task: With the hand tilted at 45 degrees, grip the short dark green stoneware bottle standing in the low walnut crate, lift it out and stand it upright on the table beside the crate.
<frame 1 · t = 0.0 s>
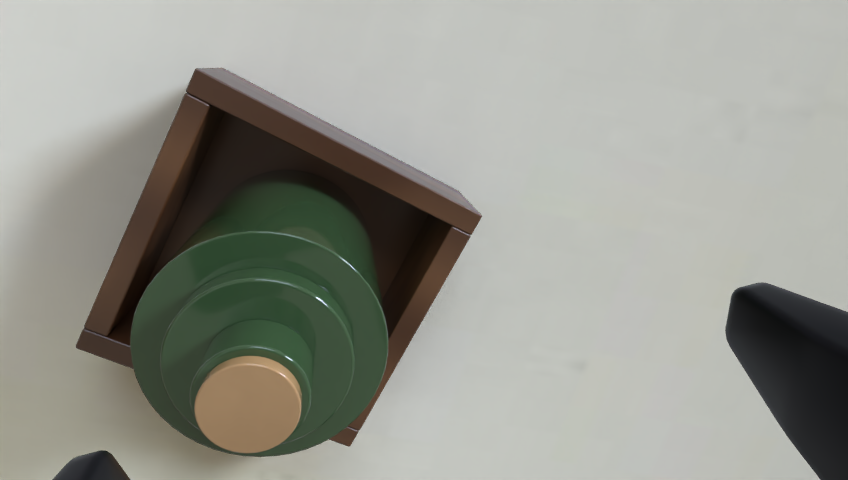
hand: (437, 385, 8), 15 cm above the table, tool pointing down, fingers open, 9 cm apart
bottle: (290, 249, 22), resting on crate
crate: (291, 245, 23), on the table
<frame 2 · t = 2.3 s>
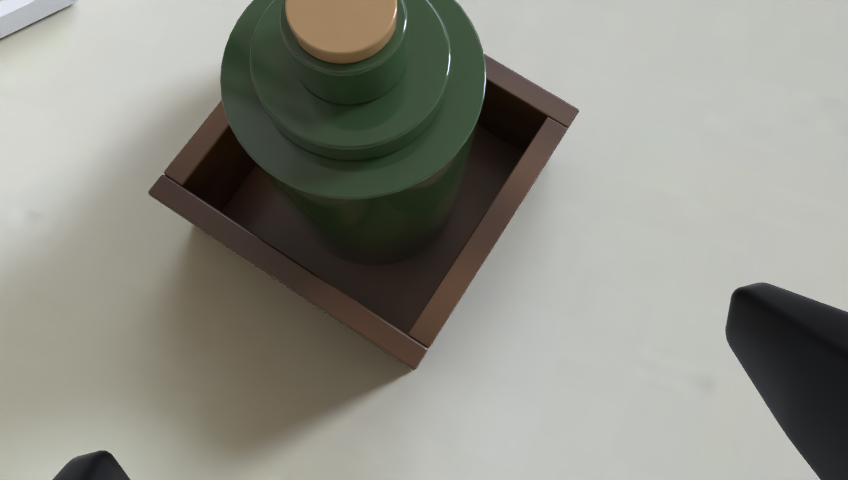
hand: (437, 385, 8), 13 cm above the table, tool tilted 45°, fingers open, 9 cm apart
bottle: (375, 184, 22), resting on crate
crate: (376, 188, 22), on the table
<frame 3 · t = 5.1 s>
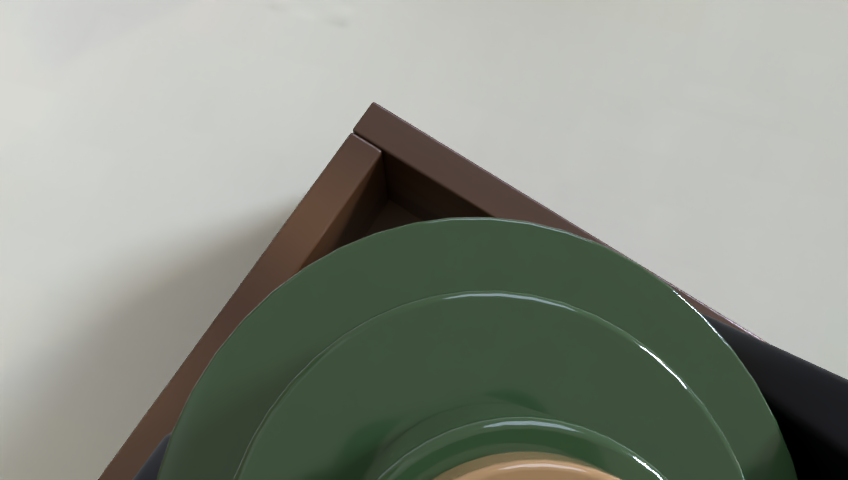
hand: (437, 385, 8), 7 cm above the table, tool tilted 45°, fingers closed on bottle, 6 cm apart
bottle: (438, 436, 14), point 1 cm above the table, touching crate, gripper
crate: (438, 433, 14), on the table
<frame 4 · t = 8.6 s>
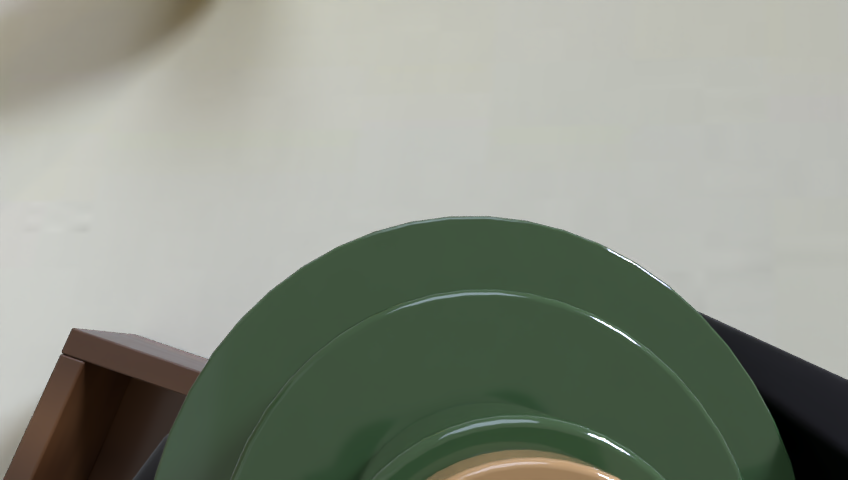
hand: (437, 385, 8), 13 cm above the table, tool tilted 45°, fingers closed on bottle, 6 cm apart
bottle: (437, 435, 14), point 7 cm above the table, touching gripper
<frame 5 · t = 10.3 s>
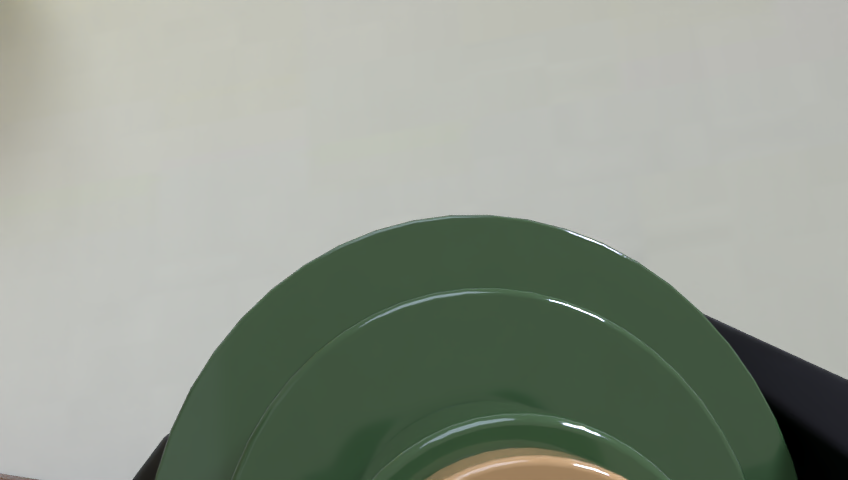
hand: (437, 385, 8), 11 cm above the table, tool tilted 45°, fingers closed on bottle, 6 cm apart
bottle: (438, 435, 14), point 5 cm above the table, touching gripper
when the fingers open (6 cm above the table, at t = 12.1 s): bottle stays where it is, on the table.
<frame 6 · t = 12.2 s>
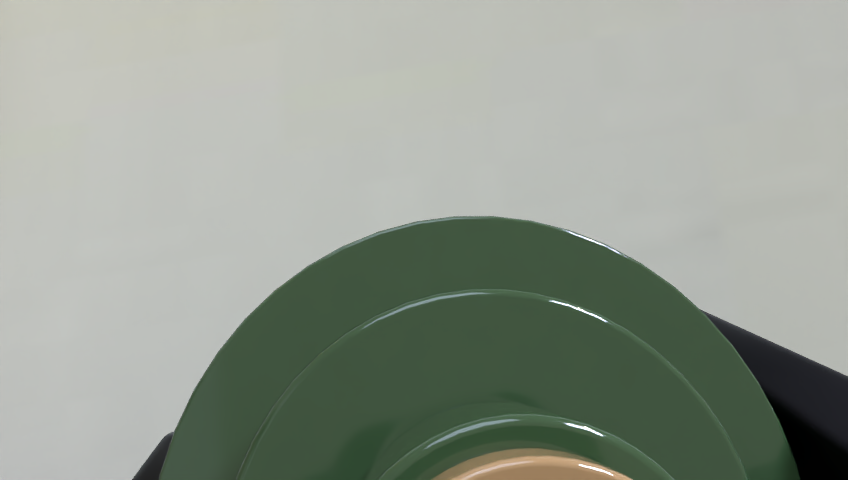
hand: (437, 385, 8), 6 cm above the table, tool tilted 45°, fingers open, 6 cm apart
bottle: (439, 436, 14), on the table
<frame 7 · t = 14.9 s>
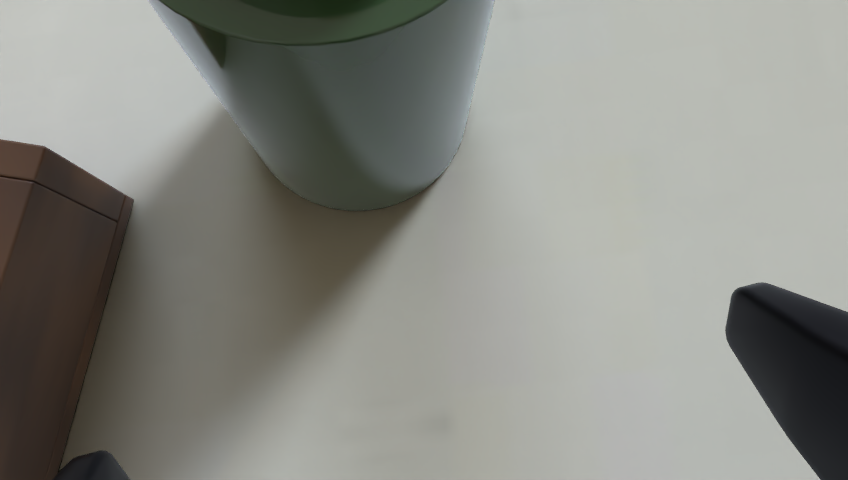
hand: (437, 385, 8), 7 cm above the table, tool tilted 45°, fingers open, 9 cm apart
bottle: (358, 106, 17), on the table
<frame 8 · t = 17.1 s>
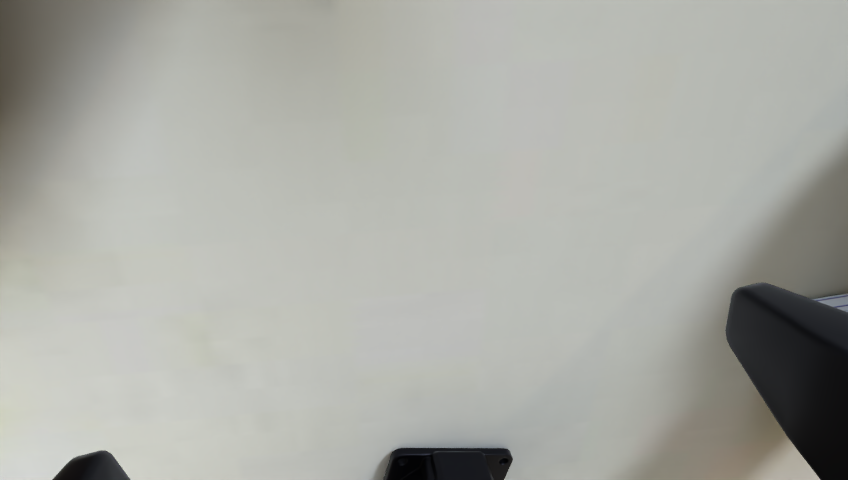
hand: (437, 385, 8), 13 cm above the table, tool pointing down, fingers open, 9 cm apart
medicine box: (837, 318, 30), on the table
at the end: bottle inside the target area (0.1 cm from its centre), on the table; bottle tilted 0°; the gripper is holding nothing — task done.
